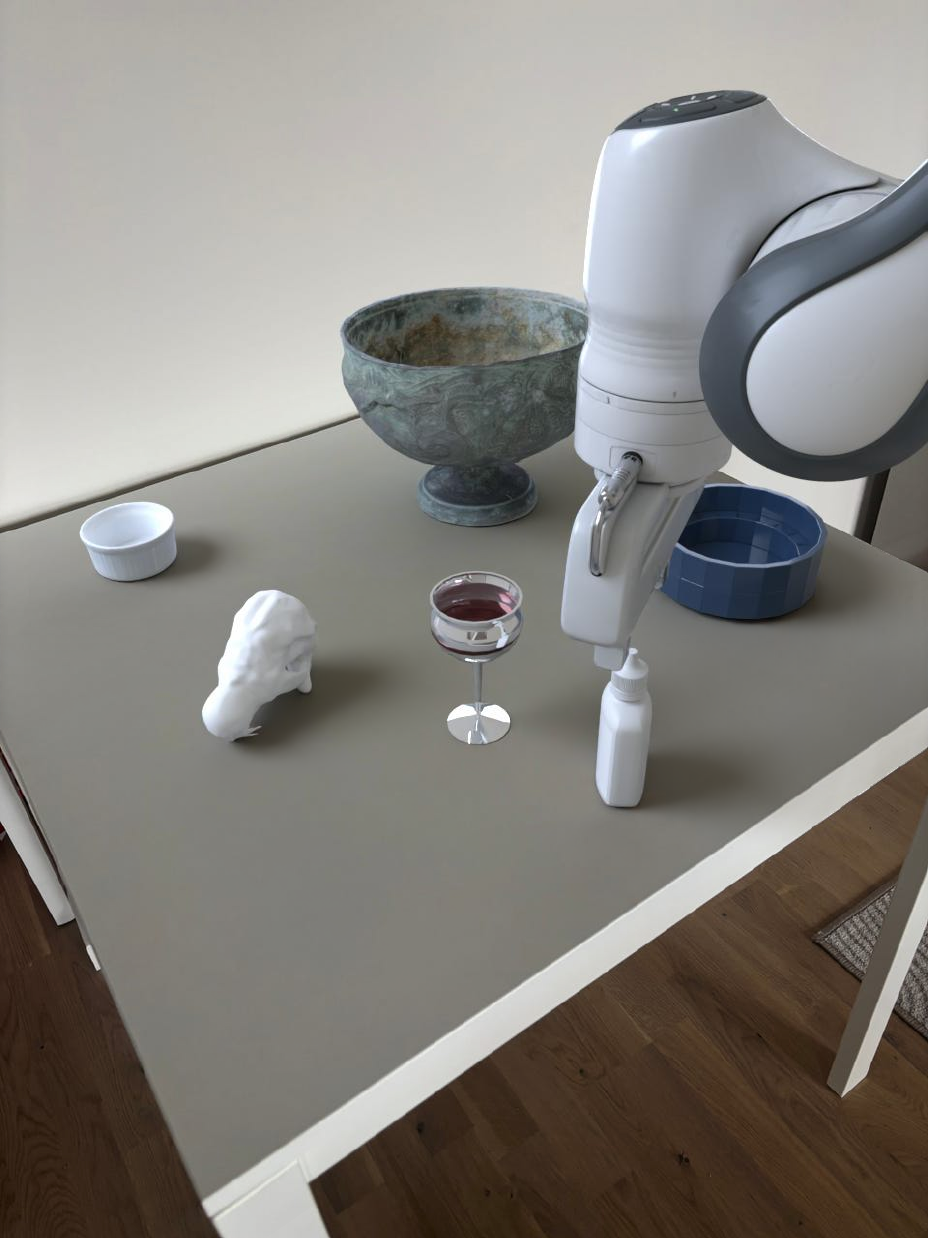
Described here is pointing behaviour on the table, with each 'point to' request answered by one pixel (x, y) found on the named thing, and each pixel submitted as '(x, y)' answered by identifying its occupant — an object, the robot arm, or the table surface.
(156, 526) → the ramekin
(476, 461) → the decorative bowl
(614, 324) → the robot arm
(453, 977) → the table surface
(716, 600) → the blue bowl
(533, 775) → the table surface
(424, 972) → the table surface
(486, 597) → the wineglass
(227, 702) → the white lumpy figure
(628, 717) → the eye dropper bottle
